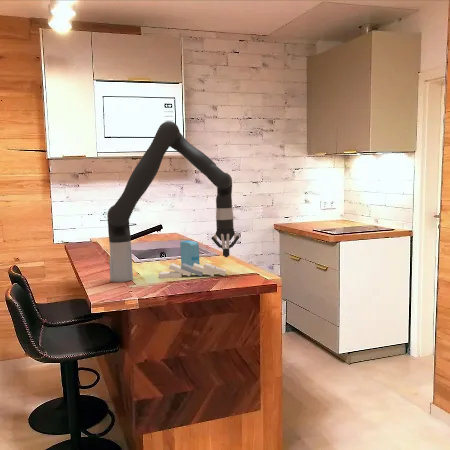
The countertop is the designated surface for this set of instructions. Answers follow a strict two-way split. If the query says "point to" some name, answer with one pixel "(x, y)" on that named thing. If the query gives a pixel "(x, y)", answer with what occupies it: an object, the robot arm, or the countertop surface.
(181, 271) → the domino
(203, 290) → the countertop surface
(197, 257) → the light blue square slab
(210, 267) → the domino
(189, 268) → the domino
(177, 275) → the domino
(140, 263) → the countertop surface
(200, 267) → the domino
